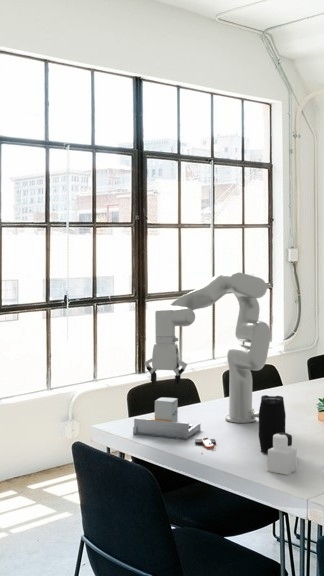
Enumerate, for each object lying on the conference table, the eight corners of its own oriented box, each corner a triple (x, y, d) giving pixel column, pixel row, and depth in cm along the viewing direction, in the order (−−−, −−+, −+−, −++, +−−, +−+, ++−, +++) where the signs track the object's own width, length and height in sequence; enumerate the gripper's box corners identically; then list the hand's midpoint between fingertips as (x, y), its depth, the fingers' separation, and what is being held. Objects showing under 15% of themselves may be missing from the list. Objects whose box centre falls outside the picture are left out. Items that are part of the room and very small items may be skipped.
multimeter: (228, 457, 245) (228, 447, 245) (193, 456, 246) (194, 446, 245) (227, 443, 263) (227, 434, 263) (195, 442, 264) (195, 433, 263)
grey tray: (200, 430, 280) (200, 414, 279) (186, 440, 265) (186, 423, 265) (149, 425, 288) (149, 409, 287) (133, 434, 273) (133, 418, 273)
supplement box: (172, 434, 270) (172, 401, 269) (153, 432, 272) (154, 400, 271) (178, 430, 277) (178, 398, 276) (160, 428, 279) (160, 396, 278)
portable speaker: (254, 450, 252) (254, 395, 251) (277, 447, 255) (277, 393, 255) (266, 456, 244) (266, 400, 243) (289, 453, 247) (290, 398, 247)
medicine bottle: (276, 466, 233) (277, 430, 233) (296, 469, 229) (297, 433, 229) (267, 471, 227) (267, 434, 227) (287, 475, 223) (288, 438, 223)
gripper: (189, 340, 272) (190, 384, 273) (148, 338, 279) (148, 381, 280) (183, 342, 265) (183, 387, 267) (140, 340, 272) (141, 384, 273)
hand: (165, 384), depth 273 cm, fingers open, 9 cm apart
